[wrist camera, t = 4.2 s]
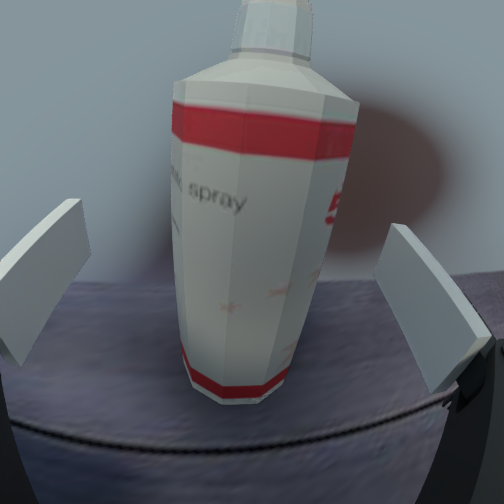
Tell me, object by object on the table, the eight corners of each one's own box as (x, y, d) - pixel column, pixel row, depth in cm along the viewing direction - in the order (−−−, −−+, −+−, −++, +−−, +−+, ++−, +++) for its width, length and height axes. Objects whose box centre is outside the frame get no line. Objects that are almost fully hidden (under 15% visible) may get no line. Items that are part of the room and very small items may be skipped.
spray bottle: (174, 334, 22) (179, -32, 8) (258, 315, 25) (305, -8, 11) (205, 419, 16) (237, -105, 3) (304, 385, 19) (410, -26, 6)
